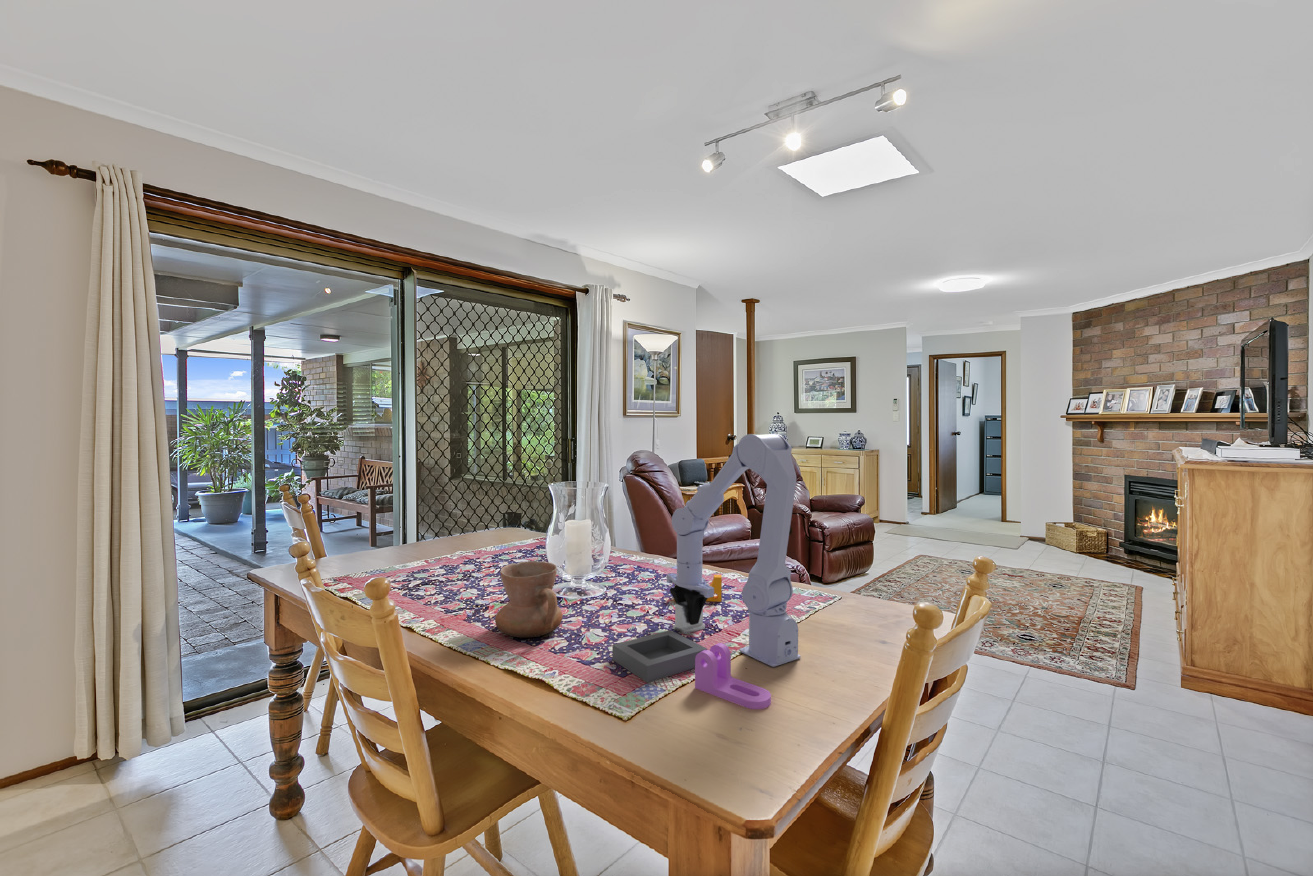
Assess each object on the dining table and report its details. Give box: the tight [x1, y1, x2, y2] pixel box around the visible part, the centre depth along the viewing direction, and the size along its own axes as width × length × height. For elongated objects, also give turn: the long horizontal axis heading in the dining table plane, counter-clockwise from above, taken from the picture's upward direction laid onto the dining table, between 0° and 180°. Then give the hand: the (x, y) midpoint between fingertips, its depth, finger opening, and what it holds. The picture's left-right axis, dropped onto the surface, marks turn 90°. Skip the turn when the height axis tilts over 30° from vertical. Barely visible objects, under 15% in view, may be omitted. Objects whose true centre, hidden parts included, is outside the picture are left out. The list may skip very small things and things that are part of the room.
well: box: [611, 629, 709, 683], centre depth 114 cm, size 12×14×3 cm
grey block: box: [672, 601, 706, 635], centre depth 133 cm, size 4×6×6 cm, turn 125°
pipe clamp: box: [706, 574, 723, 603], centre depth 153 cm, size 12×4×6 cm, turn 86°
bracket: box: [694, 642, 772, 710], centre depth 101 cm, size 13×6×7 cm, turn 49°
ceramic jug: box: [494, 560, 564, 638], centre depth 130 cm, size 18×14×14 cm
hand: (689, 621), depth 133 cm, fingers open, 3 cm apart
